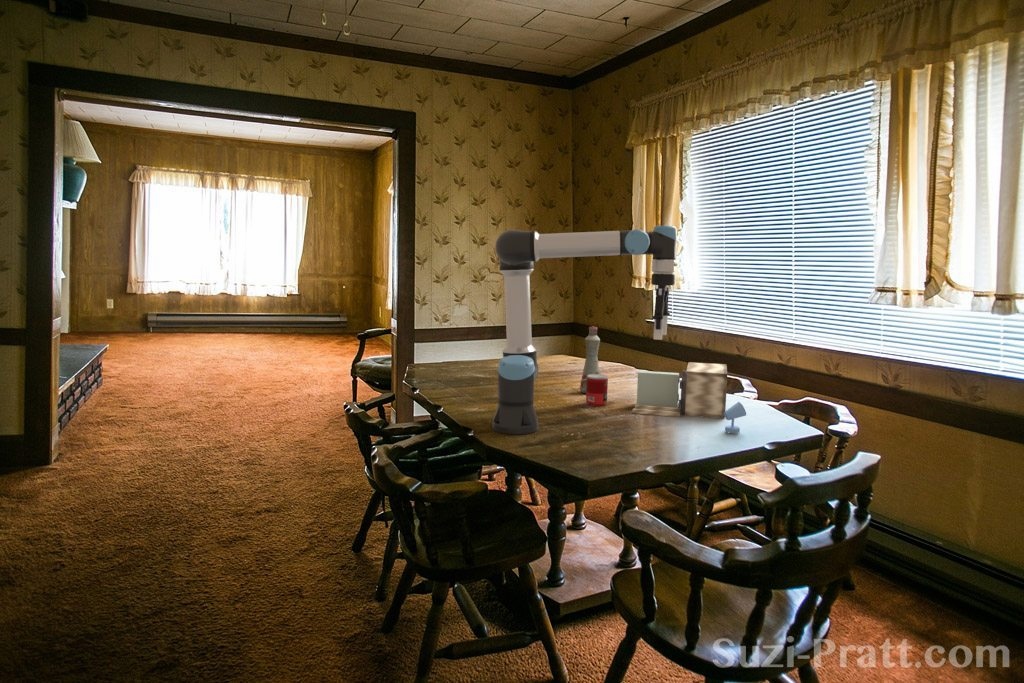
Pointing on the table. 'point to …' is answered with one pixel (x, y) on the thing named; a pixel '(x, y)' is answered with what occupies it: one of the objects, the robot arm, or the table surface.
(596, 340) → the bottle
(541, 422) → the table surface
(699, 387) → the cabinet
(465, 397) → the table surface
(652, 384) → the door
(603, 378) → the canned food
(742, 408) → the spotlight
